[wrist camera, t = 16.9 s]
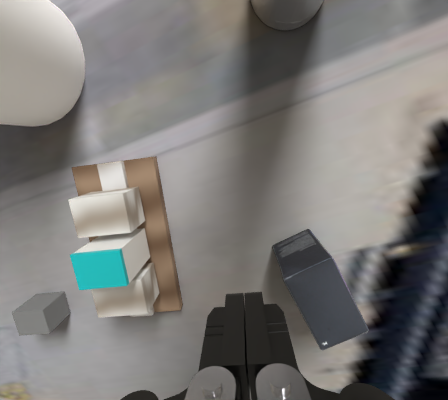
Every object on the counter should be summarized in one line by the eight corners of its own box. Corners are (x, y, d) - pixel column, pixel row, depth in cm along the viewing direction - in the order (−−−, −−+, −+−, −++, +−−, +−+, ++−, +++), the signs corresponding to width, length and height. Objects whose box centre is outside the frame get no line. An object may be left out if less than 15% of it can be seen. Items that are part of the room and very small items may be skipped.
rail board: (77, 166, 39) (41, 171, 32) (156, 156, 38) (136, 159, 31) (112, 309, 44) (87, 342, 37) (182, 304, 43) (170, 336, 35)
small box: (339, 284, 40) (373, 333, 30) (300, 301, 41) (320, 354, 31) (310, 226, 38) (335, 256, 28) (270, 245, 40) (280, 281, 29)
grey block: (37, 293, 44) (11, 312, 39) (64, 291, 44) (42, 310, 39) (43, 314, 45) (19, 335, 40) (70, 312, 44) (49, 333, 40)
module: (104, 232, 38) (70, 255, 30) (144, 228, 38) (119, 250, 30) (111, 260, 39) (79, 290, 31) (150, 256, 39) (127, 285, 31)
